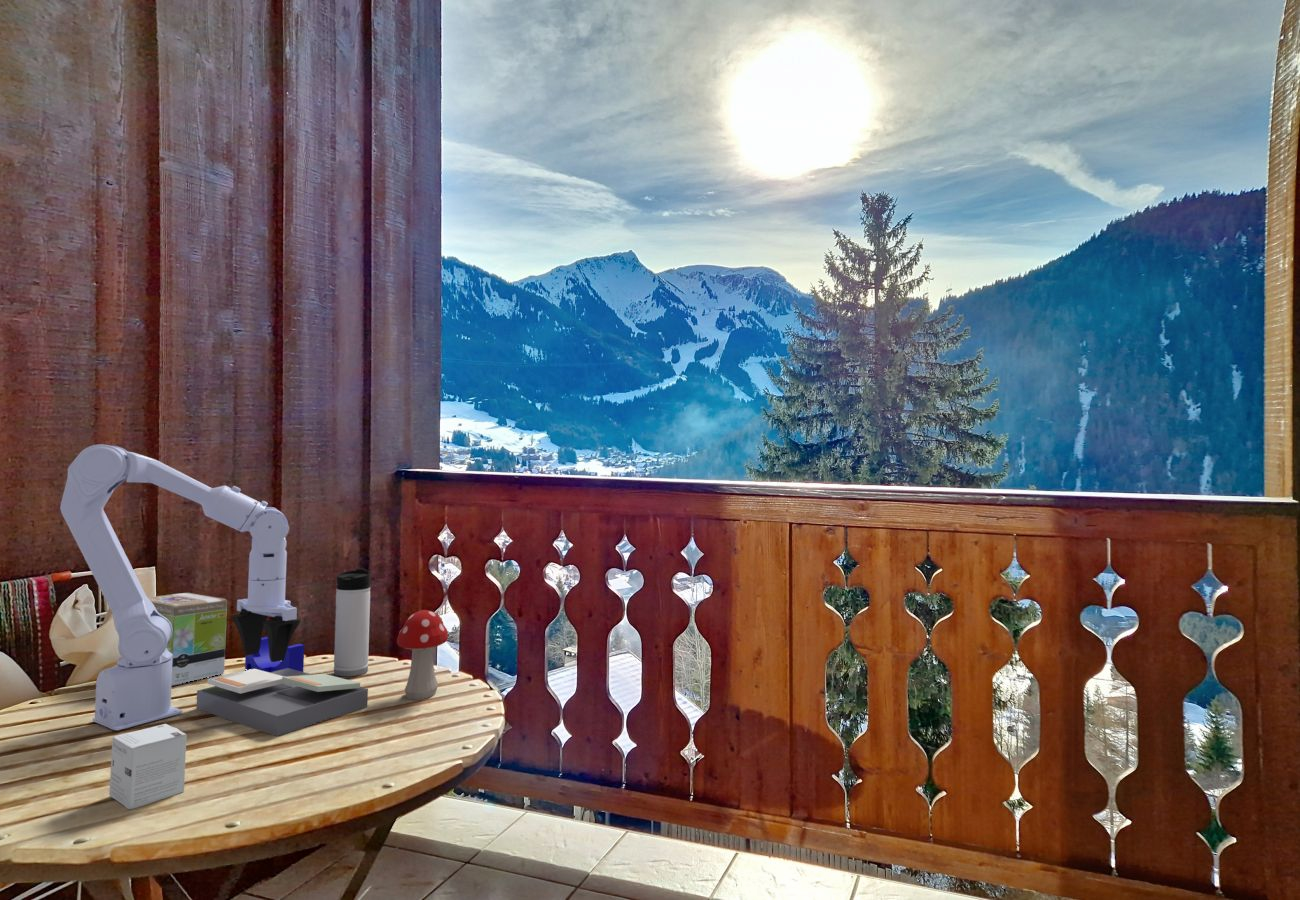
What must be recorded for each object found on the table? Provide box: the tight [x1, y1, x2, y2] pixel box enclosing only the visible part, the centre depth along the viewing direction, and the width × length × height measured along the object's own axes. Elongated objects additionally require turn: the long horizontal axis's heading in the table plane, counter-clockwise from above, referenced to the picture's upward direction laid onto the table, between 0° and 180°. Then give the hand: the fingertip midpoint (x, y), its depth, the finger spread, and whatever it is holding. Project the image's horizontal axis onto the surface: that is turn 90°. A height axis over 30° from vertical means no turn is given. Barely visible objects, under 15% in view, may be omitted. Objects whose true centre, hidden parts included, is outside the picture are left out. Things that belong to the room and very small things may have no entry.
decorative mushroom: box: [396, 609, 449, 701], centre depth 127 cm, size 10×9×15 cm
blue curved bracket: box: [244, 636, 305, 673], centre depth 139 cm, size 12×4×6 cm, turn 60°
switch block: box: [195, 668, 369, 737], centre depth 121 cm, size 22×22×3 cm
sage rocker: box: [281, 673, 361, 692], centre depth 118 cm, size 8×10×1 cm
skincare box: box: [109, 723, 188, 810], centre depth 87 cm, size 6×6×7 cm
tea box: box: [147, 592, 228, 687], centre depth 136 cm, size 15×10×15 cm
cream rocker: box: [206, 669, 284, 694], centre depth 119 cm, size 8×10×1 cm
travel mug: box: [333, 568, 371, 678], centre depth 140 cm, size 6×7×20 cm
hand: (264, 657), depth 122 cm, fingers open, 7 cm apart
